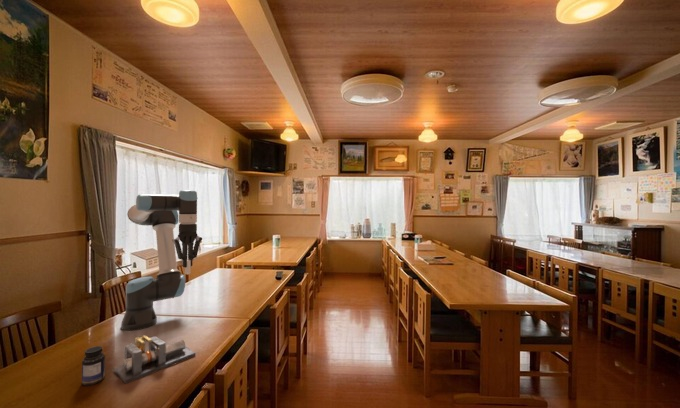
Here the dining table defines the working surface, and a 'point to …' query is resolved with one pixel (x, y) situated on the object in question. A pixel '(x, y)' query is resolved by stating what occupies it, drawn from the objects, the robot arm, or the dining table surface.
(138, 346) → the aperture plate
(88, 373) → the pill bottle
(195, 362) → the dining table surface
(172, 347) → the air tube
